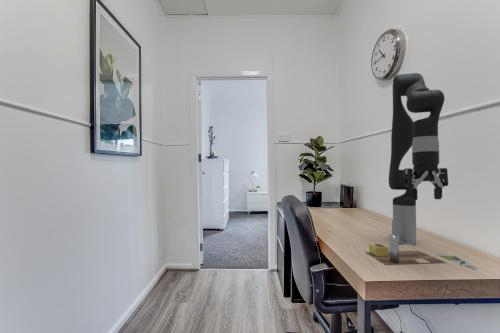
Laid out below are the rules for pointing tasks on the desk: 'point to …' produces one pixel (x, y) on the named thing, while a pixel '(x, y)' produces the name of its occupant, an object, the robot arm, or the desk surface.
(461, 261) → the handheld gaming device
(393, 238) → the metal cylinder
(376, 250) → the yellow square block
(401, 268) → the desk surface
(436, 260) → the board
